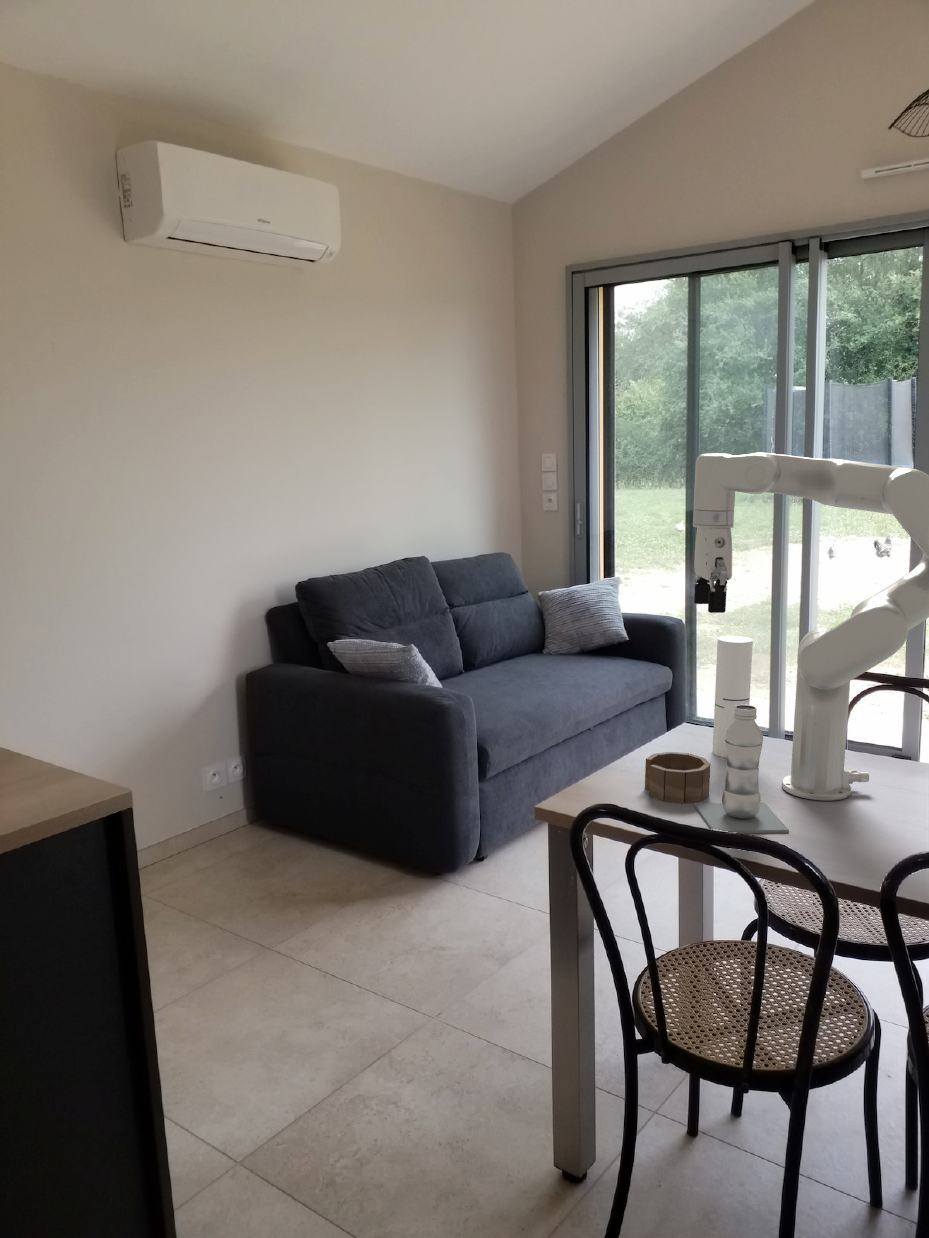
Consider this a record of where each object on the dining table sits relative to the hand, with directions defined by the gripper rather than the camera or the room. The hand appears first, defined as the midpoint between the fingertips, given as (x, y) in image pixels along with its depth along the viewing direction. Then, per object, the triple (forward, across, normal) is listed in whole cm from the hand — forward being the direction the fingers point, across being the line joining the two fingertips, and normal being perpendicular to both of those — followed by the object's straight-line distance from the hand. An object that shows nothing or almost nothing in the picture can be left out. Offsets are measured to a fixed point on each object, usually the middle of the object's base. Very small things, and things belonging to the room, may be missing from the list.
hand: (709, 608), depth 194 cm
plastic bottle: (+34, -22, -1) cm, 40 cm away
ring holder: (+34, -8, +7) cm, 36 cm away
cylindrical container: (+34, +15, -10) cm, 39 cm away
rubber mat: (+34, -22, -1) cm, 41 cm away
